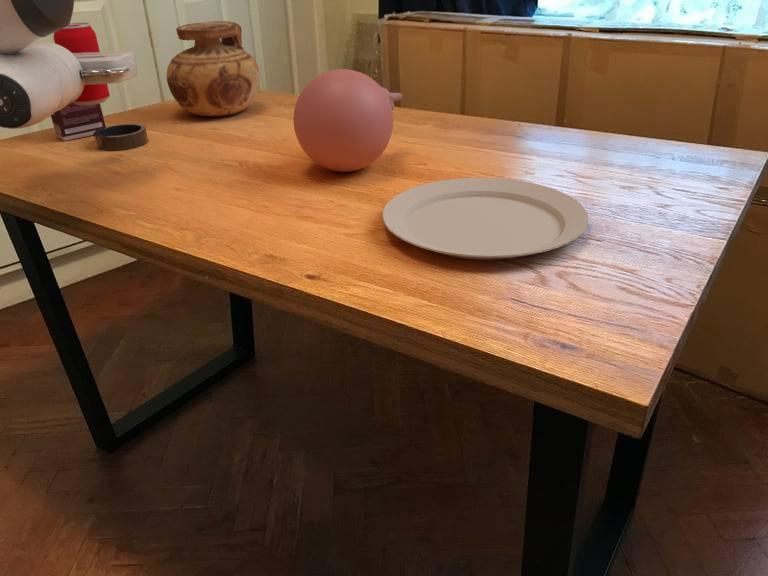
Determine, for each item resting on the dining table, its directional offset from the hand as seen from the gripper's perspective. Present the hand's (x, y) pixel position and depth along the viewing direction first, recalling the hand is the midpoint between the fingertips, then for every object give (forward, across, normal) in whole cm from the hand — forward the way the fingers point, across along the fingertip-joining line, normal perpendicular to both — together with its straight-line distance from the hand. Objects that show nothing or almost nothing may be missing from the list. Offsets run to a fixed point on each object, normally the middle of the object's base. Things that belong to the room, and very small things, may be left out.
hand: (82, 59), depth 106 cm
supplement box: (+18, +10, +17) cm, 27 cm away
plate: (-37, -59, +17) cm, 71 cm away
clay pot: (+31, -14, +17) cm, 38 cm away
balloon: (-10, -44, +17) cm, 48 cm away
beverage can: (-1, 0, +7) cm, 7 cm away
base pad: (+10, 0, +17) cm, 20 cm away
